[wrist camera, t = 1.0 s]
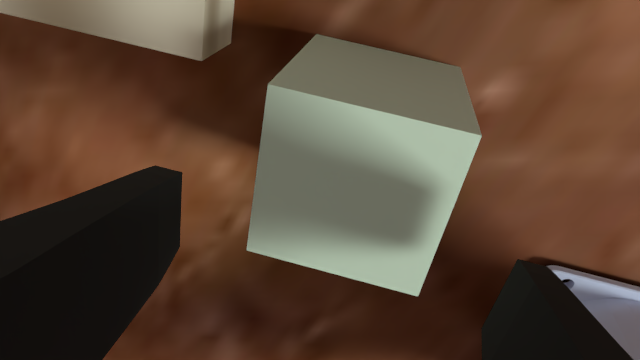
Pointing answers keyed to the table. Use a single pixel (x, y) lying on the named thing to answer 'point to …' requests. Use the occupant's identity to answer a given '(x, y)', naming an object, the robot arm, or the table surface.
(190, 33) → the cream block
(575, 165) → the table surface
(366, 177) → the sage block
